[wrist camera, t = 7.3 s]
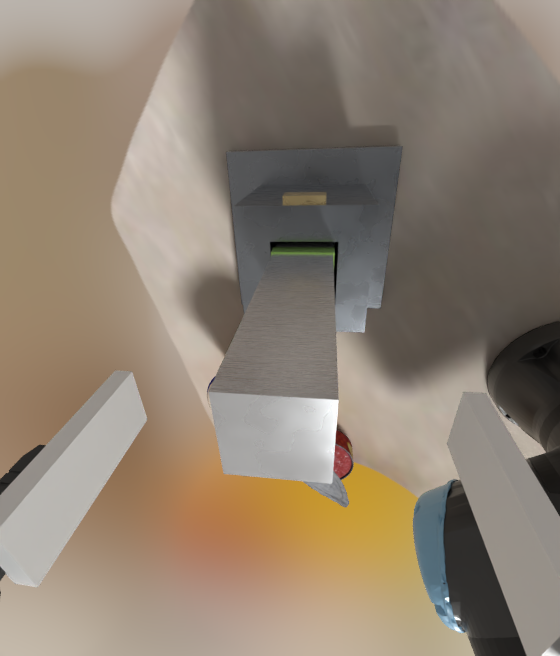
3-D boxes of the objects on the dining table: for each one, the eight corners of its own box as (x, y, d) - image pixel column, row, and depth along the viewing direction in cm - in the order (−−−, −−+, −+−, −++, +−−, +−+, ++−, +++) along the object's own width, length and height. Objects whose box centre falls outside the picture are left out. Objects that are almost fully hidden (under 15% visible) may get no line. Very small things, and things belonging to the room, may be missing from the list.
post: (333, 231, 27) (342, 397, 10) (331, 281, 29) (334, 485, 12) (280, 231, 28) (204, 389, 11) (282, 280, 30) (221, 475, 13)
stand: (399, 145, 30) (435, 152, 20) (378, 302, 38) (396, 363, 28) (230, 151, 32) (185, 160, 22) (244, 298, 40) (216, 355, 30)
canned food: (335, 444, 58) (326, 506, 53) (284, 426, 56) (269, 489, 51) (374, 436, 49) (368, 511, 44) (315, 414, 47) (301, 490, 42)
